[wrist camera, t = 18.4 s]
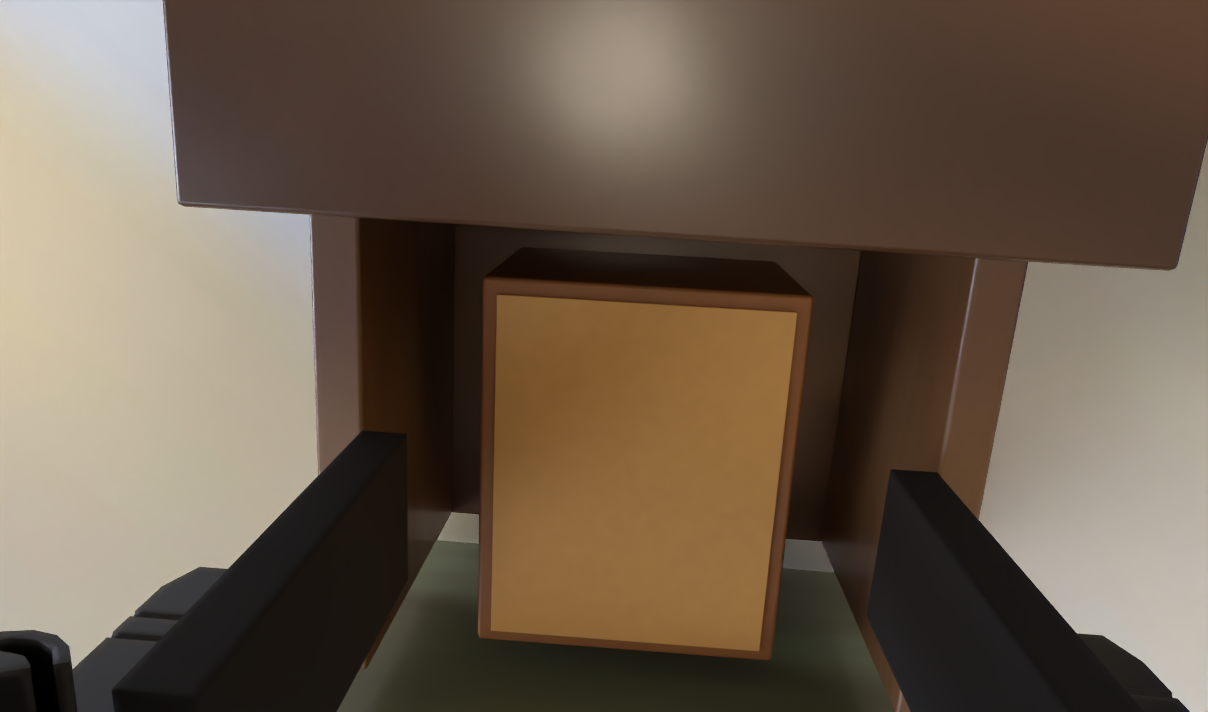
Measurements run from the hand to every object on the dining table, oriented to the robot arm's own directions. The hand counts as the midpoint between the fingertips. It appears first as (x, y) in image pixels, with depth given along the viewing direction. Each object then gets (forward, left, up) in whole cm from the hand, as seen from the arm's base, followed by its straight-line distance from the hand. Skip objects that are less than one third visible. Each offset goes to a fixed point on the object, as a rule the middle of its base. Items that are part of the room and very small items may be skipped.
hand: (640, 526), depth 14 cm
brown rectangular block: (0, 0, -6) cm, 6 cm away
